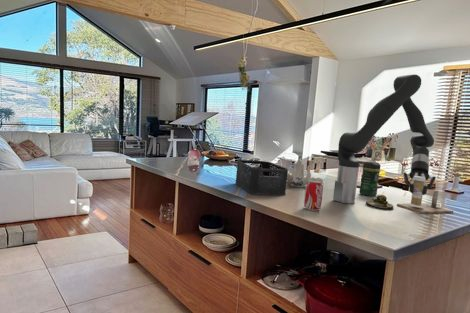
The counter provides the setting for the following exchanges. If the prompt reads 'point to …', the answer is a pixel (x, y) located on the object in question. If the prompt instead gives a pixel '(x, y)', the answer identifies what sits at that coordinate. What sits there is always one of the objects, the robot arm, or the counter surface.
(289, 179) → the chinaware
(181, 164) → the counter surface
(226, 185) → the counter surface
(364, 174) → the coffee jar
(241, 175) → the storage bin
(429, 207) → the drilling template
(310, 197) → the soda can
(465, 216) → the counter surface
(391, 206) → the olive green hat
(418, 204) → the sprinkles bottle
